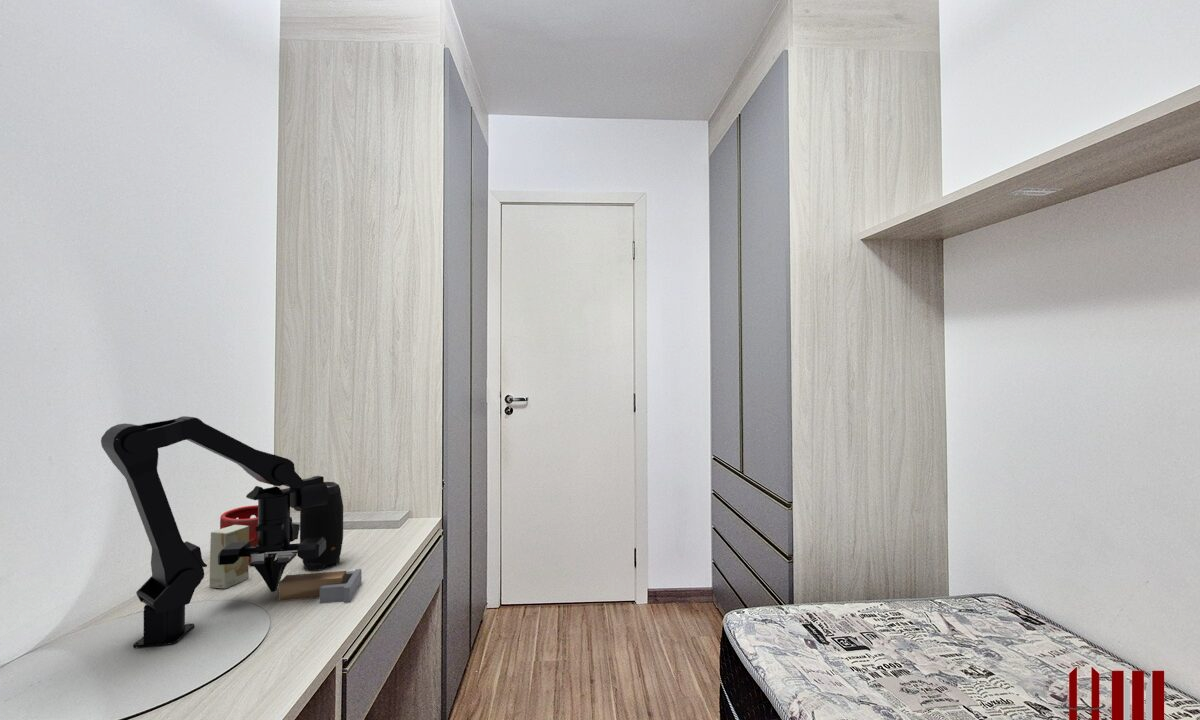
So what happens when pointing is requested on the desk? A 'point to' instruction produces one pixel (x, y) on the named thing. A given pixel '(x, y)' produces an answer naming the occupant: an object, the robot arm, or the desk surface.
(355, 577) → the end cap
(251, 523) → the plant pot
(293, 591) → the brown wooden block
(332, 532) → the portable speaker
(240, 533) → the skincare box
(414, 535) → the desk surface
